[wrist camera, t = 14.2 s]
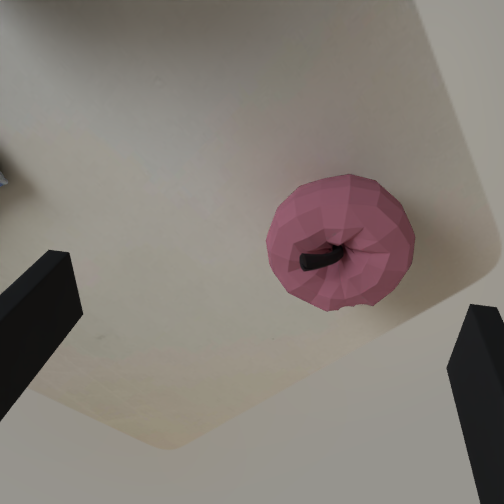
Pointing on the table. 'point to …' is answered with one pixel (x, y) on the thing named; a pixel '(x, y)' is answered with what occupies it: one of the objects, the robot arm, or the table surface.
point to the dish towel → (3, 179)
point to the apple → (340, 242)
